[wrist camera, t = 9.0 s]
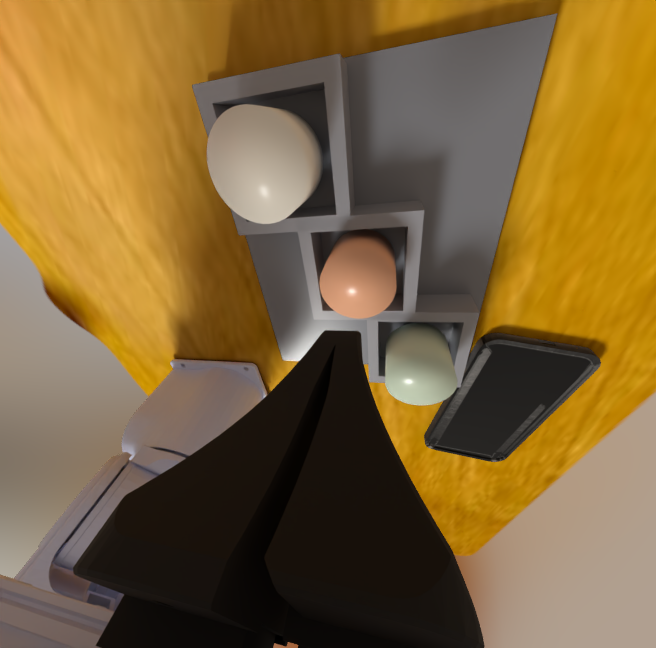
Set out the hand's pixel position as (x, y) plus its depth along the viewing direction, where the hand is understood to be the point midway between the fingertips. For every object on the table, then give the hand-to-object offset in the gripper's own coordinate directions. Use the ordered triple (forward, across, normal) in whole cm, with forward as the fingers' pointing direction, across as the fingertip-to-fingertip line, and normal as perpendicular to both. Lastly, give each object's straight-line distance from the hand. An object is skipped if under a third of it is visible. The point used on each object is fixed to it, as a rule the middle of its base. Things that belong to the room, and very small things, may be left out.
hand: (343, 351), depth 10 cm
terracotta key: (+8, 0, 0) cm, 8 cm away
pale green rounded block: (+7, -3, +6) cm, 10 cm away
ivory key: (+7, +4, -6) cm, 10 cm away
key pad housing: (+9, 0, 0) cm, 9 cm away
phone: (+10, -11, +14) cm, 20 cm away
